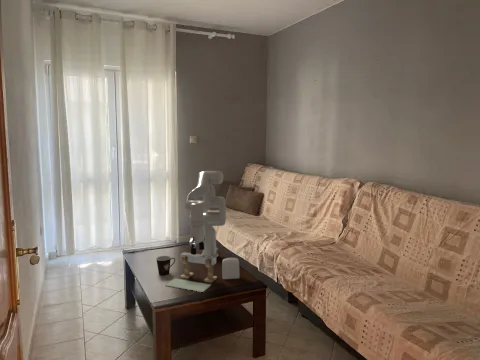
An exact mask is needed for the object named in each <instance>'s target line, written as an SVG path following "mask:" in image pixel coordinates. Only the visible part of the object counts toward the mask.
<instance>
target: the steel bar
mask: <svg viewBox="0 0 480 360" xmlns="http://www.w3.org/2000/svg"><path fill="white" fill-rule="evenodd" d="M201 254H202V253H201ZM201 254H200V253H196V255H193V254H191V252H185V251H184V252H181V253H180V254H179V255H180V257H179V259H180V262H182V256H186V262H189V263H194V264H201V265H202V264H203V265H205V260H206V259H207V260H210V265H213V266H214V265H216V264H217V258H216V256H209V255H201Z"/></svg>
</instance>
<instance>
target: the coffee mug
mask: <svg viewBox="0 0 480 360" xmlns="http://www.w3.org/2000/svg"><path fill="white" fill-rule="evenodd" d="M172 259H173V260H174V261H173V263H171V260H172ZM155 260H156V266H157V271H158V275H159V276H161V277H163V276H164V277H165V276H166V277H167V276H168V275H170V271H171V270H170V269H171V268H172V266H173V265H174V264H175V263H176V259H175V257H171V256H169V255H160V256H158V257H156V258H155Z"/></svg>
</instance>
